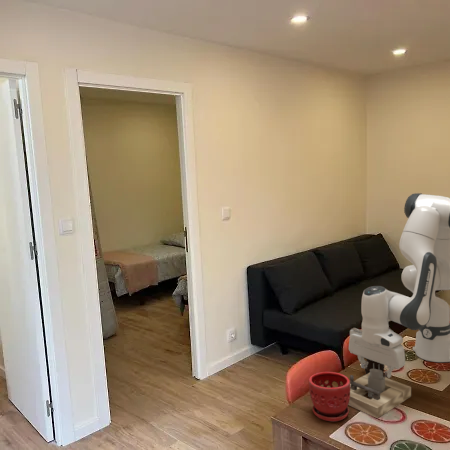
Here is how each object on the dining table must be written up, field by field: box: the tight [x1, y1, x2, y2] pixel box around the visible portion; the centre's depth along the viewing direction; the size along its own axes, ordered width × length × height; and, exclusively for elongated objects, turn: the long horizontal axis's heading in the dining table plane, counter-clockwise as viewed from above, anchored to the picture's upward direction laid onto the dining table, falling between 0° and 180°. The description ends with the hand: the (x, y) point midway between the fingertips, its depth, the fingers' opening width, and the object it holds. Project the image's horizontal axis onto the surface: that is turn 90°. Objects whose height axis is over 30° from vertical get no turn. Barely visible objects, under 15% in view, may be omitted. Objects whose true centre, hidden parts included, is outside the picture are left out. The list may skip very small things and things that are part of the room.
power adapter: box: [367, 363, 386, 399], centre depth 156 cm, size 3×5×12 cm, turn 56°
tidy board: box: [348, 373, 412, 419], centre depth 155 cm, size 20×16×8 cm
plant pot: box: [308, 371, 350, 422], centre depth 147 cm, size 13×13×12 cm
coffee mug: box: [364, 358, 385, 375], centre depth 174 cm, size 12×9×10 cm
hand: (375, 372), depth 156 cm, fingers open, 8 cm apart
